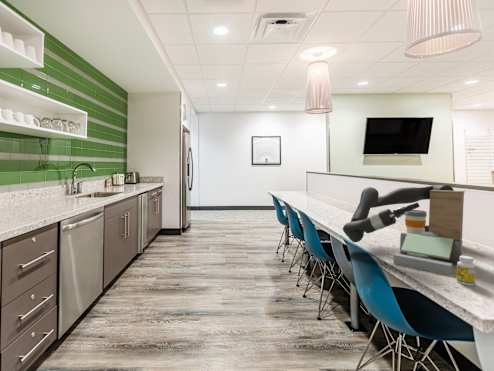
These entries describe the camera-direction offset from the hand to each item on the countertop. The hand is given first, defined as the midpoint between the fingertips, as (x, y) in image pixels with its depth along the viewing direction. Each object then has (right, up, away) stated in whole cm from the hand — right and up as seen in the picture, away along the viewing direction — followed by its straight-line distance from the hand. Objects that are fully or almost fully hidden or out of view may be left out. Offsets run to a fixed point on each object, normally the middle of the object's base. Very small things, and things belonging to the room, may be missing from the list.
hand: (416, 205), depth 126 cm
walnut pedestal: (+18, -26, +7) cm, 32 cm away
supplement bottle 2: (+5, -27, -22) cm, 35 cm away
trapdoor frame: (+10, -26, +6) cm, 28 cm away
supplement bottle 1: (+22, -25, +25) cm, 42 cm away
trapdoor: (+6, -18, +2) cm, 19 cm away
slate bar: (0, -25, -4) cm, 25 cm away
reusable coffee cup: (+35, -23, +60) cm, 74 cm away
